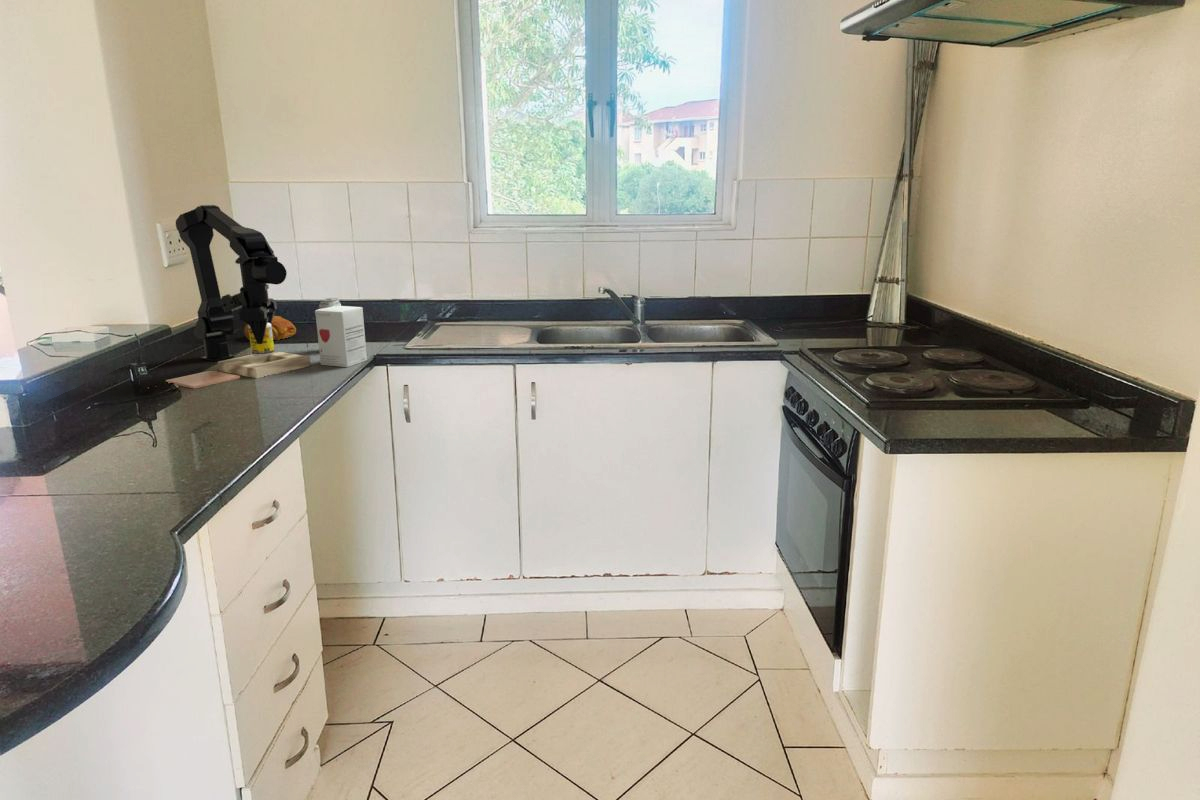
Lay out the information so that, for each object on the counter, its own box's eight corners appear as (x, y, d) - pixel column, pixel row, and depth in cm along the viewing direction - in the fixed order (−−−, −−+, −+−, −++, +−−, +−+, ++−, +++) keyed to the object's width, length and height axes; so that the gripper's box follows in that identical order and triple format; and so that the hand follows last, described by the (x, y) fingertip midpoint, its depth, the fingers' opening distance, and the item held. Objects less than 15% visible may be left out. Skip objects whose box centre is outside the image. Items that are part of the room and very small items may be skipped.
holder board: (219, 371, 200) (218, 361, 199) (273, 359, 213) (272, 350, 212) (257, 378, 192) (255, 368, 191) (310, 365, 205) (309, 356, 204)
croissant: (238, 347, 240) (231, 323, 237) (271, 332, 254) (265, 308, 251) (276, 348, 236) (269, 324, 233) (307, 332, 250) (302, 309, 247)
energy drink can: (328, 353, 220) (323, 301, 216) (320, 350, 224) (315, 299, 220) (349, 350, 224) (343, 299, 220) (340, 347, 228) (335, 297, 224)
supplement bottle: (248, 357, 198) (243, 318, 196) (256, 352, 204) (251, 314, 201) (270, 356, 199) (265, 317, 196) (278, 352, 204) (273, 314, 201)
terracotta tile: (166, 382, 188) (165, 380, 188) (212, 372, 198) (211, 370, 198) (194, 388, 182) (193, 386, 182) (240, 378, 192) (239, 375, 192)
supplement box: (319, 365, 205) (313, 309, 201) (341, 358, 213) (335, 304, 209) (347, 367, 202) (341, 311, 198) (368, 360, 210) (363, 306, 206)
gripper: (228, 278, 203) (236, 336, 207) (211, 287, 186) (220, 350, 190) (273, 277, 205) (280, 334, 210) (260, 286, 188) (268, 348, 192)
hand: (262, 341), depth 200 cm, fingers closed on supplement bottle, 5 cm apart
